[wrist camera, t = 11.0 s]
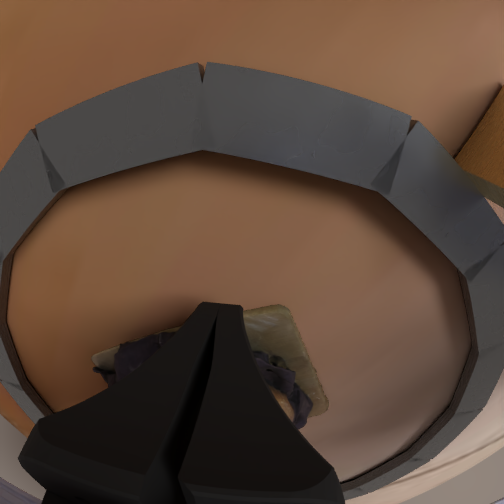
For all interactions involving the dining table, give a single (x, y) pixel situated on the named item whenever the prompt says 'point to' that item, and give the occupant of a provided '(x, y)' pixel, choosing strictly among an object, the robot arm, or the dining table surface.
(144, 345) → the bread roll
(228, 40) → the dining table surface
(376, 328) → the dining table surface
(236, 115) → the turntable ring
